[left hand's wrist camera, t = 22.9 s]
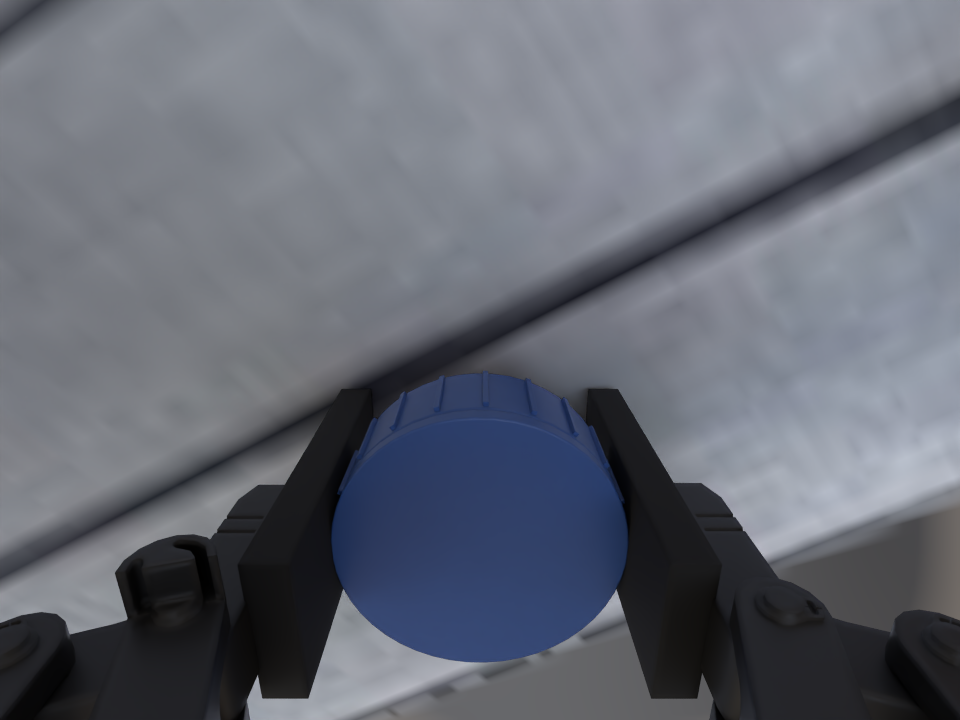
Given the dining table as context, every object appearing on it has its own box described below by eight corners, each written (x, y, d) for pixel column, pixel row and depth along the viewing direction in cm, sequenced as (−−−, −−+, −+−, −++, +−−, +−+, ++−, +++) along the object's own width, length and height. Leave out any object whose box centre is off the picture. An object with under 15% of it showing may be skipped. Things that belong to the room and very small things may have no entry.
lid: (642, 539, 13) (671, 610, 11) (424, 618, 14) (413, 698, 12) (549, 326, 11) (564, 363, 9) (305, 432, 12) (268, 488, 10)
